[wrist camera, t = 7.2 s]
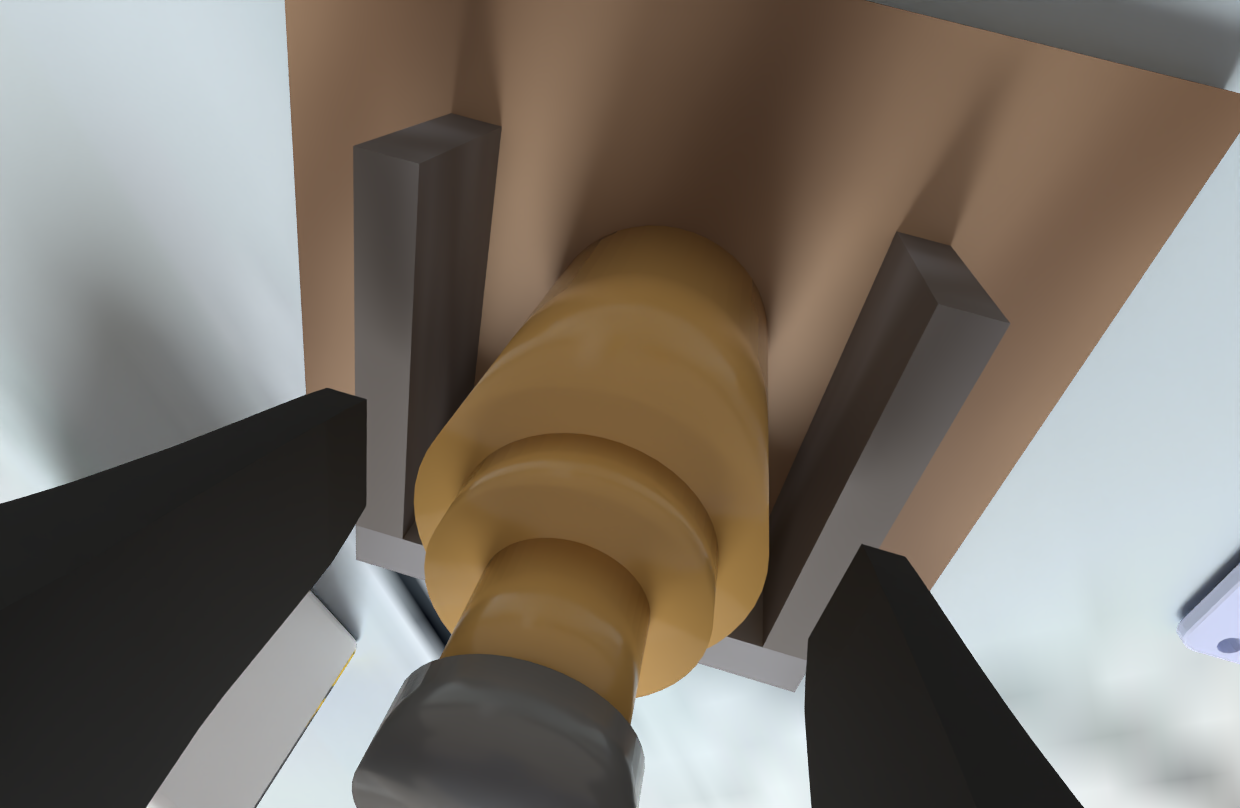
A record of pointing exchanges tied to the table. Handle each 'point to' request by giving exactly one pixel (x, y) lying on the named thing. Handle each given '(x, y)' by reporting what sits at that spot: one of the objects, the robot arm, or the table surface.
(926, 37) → the bottle rest
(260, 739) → the medicine bottle
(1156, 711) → the table surface
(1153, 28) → the table surface
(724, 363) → the amber bottle
